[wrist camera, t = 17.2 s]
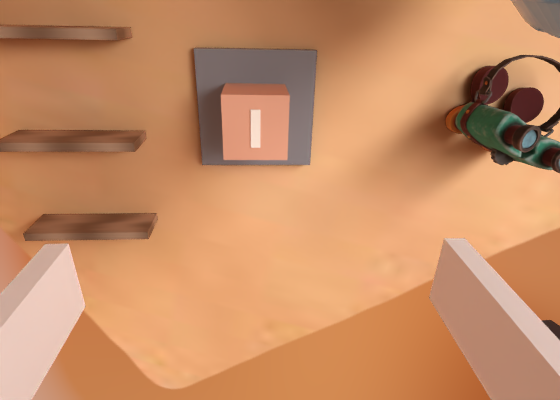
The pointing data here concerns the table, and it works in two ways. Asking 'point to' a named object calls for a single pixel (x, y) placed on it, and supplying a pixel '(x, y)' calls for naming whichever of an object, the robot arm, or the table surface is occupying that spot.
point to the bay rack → (78, 142)
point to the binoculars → (507, 120)
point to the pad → (258, 70)
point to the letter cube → (255, 121)
